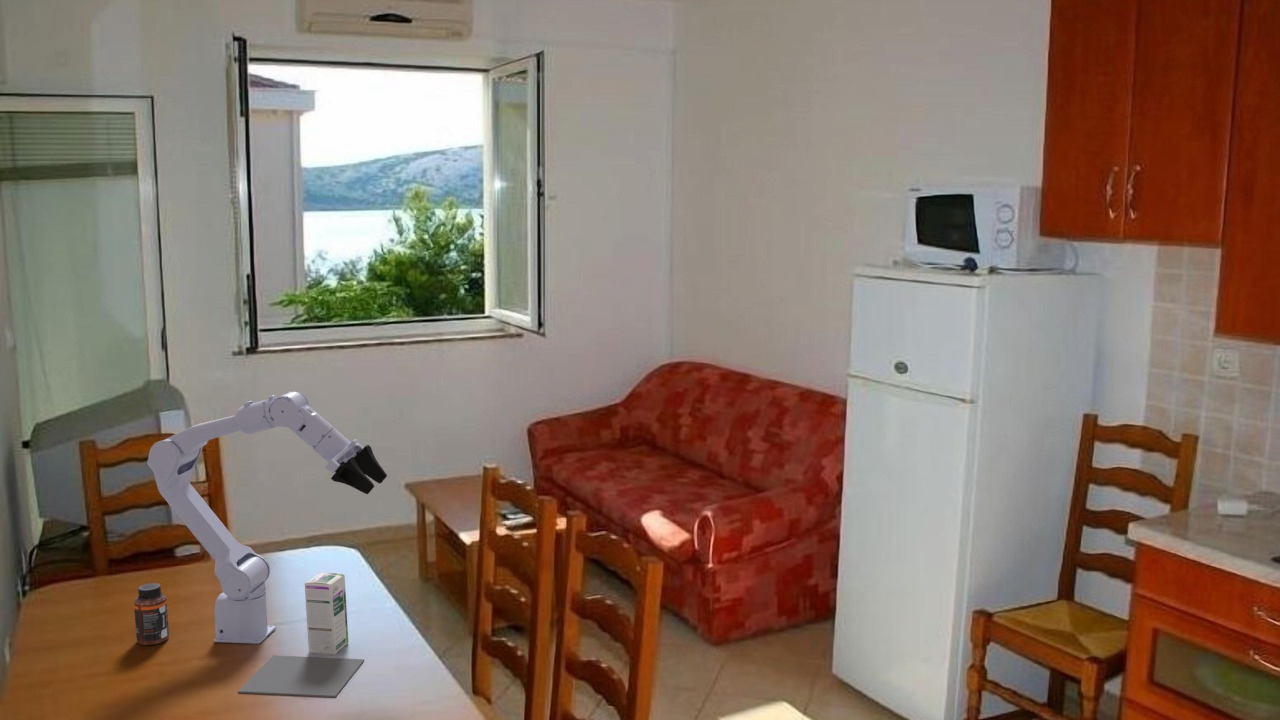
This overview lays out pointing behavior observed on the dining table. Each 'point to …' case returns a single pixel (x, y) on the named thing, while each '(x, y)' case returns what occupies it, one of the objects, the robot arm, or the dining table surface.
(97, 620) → the dining table surface
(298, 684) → the charcoal mat
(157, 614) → the supplement bottle
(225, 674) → the dining table surface
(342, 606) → the syrup box
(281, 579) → the dining table surface
